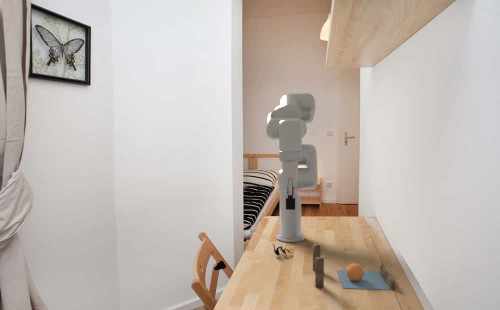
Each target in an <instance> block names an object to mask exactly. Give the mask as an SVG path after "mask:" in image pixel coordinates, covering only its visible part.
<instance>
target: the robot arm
mask: <svg viewBox="0 0 500 310" xmlns="http://www.w3.org/2000/svg"><path fill="white" fill-rule="evenodd" d="M279 102H280V103H279V105H278V106H276V107H275V108H274V110H272V111H271V112H270V113H268V116H267V120H266V126H265V133H266V136H267V137H268V138H269V139H270V140H274V141H276V140H277V141H278V140H279V141H278V147H279V148H278V151H279V152H278V154H279V155H278V156H279V159H278V160H279V162H282V163H281V169H280V170H278V171H277V175H276V177H277V184H278V192H279V196H278V197H279V232H278V233H277V234H276V239H277V240H279V241H280V242H284V243H299V242H302V241H304V240H305V238H306V237H305V235H304V234H303V233H302V199H301V196H300V195H299V194H298V193H297V192H296V191H297V190H315V189H316V188H317V187H318V183H319V182H318V181H319V180H318V177H319V176H318V155H317V149H316V146H314V145H313V144H309V143H305V144H304V143H303V141H302V139H303V138H304V137H305V136H306V134H307V129H308V128H307V127H308V126H307V124H311V123H312V122H313V121H314V118H315V114H316V99H315V98H314V96H313V94H311V93H309V92H306V93H304V92H301V93H299V92H297V93H288V94H284V95H283V96H282V97H281V98H280V100H279ZM299 166H304V167H299Z"/></svg>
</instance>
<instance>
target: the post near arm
mask: <svg viewBox="0 0 500 310" xmlns="http://www.w3.org/2000/svg"><path fill="white" fill-rule="evenodd" d="M316 257H321V244H319V243H314V244H312V272H314V273H315V258H316Z"/></svg>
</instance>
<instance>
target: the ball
mask: <svg viewBox="0 0 500 310" xmlns="http://www.w3.org/2000/svg"><path fill="white" fill-rule="evenodd" d="M345 270H346V274H347V277H348V278H349V279H350V280H352V281H359V280H361V279H362V278H363V275H364V271H365V270H364V269H363V267H362V266H361V265H360V264H358V263H350V264H349V265H347V266H346V269H345Z"/></svg>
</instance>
